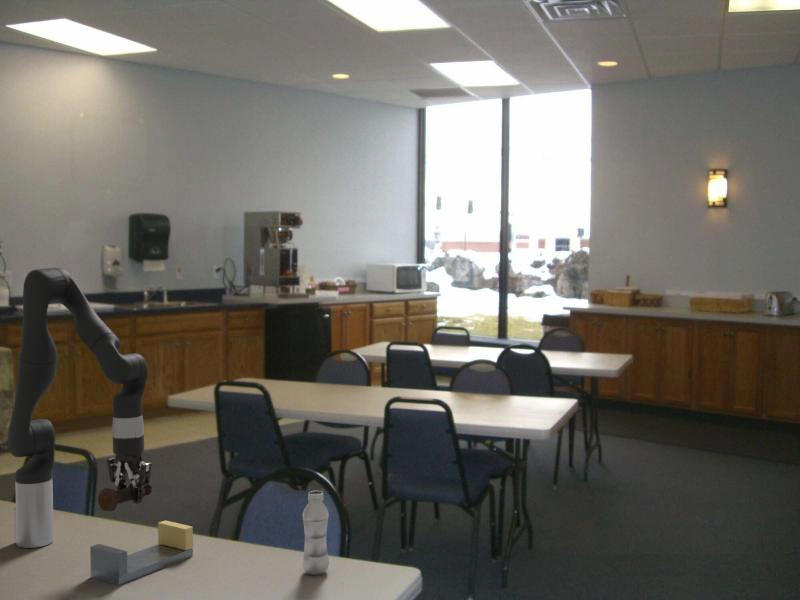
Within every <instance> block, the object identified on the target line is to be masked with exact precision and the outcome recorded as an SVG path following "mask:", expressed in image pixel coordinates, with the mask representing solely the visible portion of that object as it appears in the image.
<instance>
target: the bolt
mask: <svg viewBox="0 0 800 600" xmlns="http://www.w3.org/2000/svg"><path fill="white" fill-rule="evenodd" d="M133 489H134V488H133V484H132V482H131V483H129V485H128V487H126V488H124V489H121V490H117V489H112V488H103V489H101V490H100V492H99V493H98V496H97V503H98V506H99V508H100V509H101V510H102V511H105V512H113V511H115V510H116V508H117V506H118V504H123V503H124V502H125V503H126V502H128V501H132V502H133ZM152 490H153V487H152V485H150V484H149V485H147V486H144V487H143V488H142V492H143V494H142V495H143V498H144V497H145V496H149V495H151V493H152Z"/></svg>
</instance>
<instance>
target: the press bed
mask: <svg viewBox="0 0 800 600" xmlns="http://www.w3.org/2000/svg"><path fill="white" fill-rule="evenodd" d="M89 549H90V553H89V554H90V578H92V579H96V580H98V581H103V582H105V583H106V582H107V583H109V584H113V585H116V586H122V585H125V584H126V583H129V582H131V581H134V580H137V579H139V578H142V577H145V576H146V575H149V574H152V573H154V572H157V571H159V570H162V569H164V568H167V567H169V566H171V565H174V564H177V563H179V562H182V561H184V560H186V558H187V559H189V558H191V556H192V557H193V556H194V552H193V551H194V547H193V548H191V549H188V550H182V549H178V548H174V547H170V546H166V545H162V544H159V543H157V544H155V545H153V546H150V547H147V548H144V549H141V550H138V551H136V552H133V553H131V554H128V550H123V549H120V548H117V547H116V548H115V547H113V546H109V545H105V544H101V543H97V544H94V545H91V546H90V547H89Z"/></svg>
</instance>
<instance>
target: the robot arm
mask: <svg viewBox="0 0 800 600" xmlns="http://www.w3.org/2000/svg"><path fill="white" fill-rule="evenodd" d="M22 289H23V291H22V331H21V343H20V349H19V350H20V352H19V357H18V366H17V367H18V368H17V379H16V389H15V397H14V401H13V408H12V412H11V418H10V422H9V425H8V426H9V427H8V432H7V447H8V451H9V453H10V454H11V455H12V456H13V457H15V458H25V457H30V456H32V458H30V460H28V462H27V463H26V464H24V465H22V466H20V467H19V468H17V469H16V471H15V475H14V476H15V480H14V481H15V482H14V483H15V484H14V485H15V507H14V508H13V521H14V522H13V525H14V526H13V527H14V528H13V529H14V533H13V534H14V535H13V536H14V543H15V544H16V547H18V548H23V549H24V548H25V549H29V548H30V549H35V548H42V547H45V546H47V545H50V544H52V543H53V542H54V491H53V490H54V489H53V488H54V487H53V485H54V484H53V483H54V482H53V480H54V479H53V474H54V473H53V472H54V469H55V455H56V454H55V450H56V449H55V448H56V433H55V428H54V425H53V423H52V422H51V421H50V420H49V419H46V418H41V419H33V420H32V418H33V413H34V411H35V408H36V407H37V405H38V403H39V402H40V400H41V399H42V397H43V396H44V394H45V393H46V392H47V391H48V389H49V388H50V386H51V385H52V383H53V382H54V379H55V377H56V373H57V367H58V366H57V365H58V349H57V346H56V343H55V342H54V339H53V337H52V335H51V333H50V331H49V329H48V324H47V323H48V320H47V318H48V308H49V305H51V304H58V303H59V304H61V305H62V306H63V307H65V309H67V310H68V311H69V312H70V313H71V314H72V316H73V320H74V324H75V329H76V333H77V335H78V337H79V339H80V340H81V342H82V343H83V344H84V345H85V347H86V348H87V349H88V350H89V351H91V353H92V354H93V355H94V357H95V358H96V360H97V362H98V364H99V366H100V369H101V370H102V372H103V374H104V375H105V377H106V378H107V379H108V381H110V382H112V383H114V384H116V385H122V388H121V389H120V391H119V392H117V393H116V394H114V395H113V397H112V414H113V415H112V423H111V425H112V426H111V427H112V433H111V435H112V453H113V454H114V455H115V456H114V457H111V458H107V459H106V463H107V469H108V475H109V480H110V483H114V484H115V486H116V491H117V490H121V489H124V488H127V484H126V483H127V479H129V481H131V483H132V484H133V488H134V489H133V501H132V504H136V505H137V504H140V503H142V502H143V499H144V497H143V495H142V494H143V492H142V488H143V487H144V486H147V485H150V479H151V471H152V462H145V461H144V460H143V456H142V454H143V453H144V451H145V425H144V418H143V396H144V392H145V389H146V383H147V380H148V379H147V378H148V373H149V372H148V363H147V362H146V358H144V357H143V356H142V355H141V354H140V353H135V352H134V353H127V354H121V353H120V352H119V350H120V349H121V346H122V345H121V344H122V343H121V341H120V339H119V337H118V336H117V335H116V334H115V333H114V332H113V331H112V330H111V329H110V328H109V326H108V325H107V324H105V322H104V321H103V320H102V319H101V318H100V317H99V315H98V314H97V312H96V311H95V310H94V308H93V307H92V305H91V304H90V302H89V300H88V299H87V298H86V296H85V294H84V293H83V292H82V289H81V288H80V287H79V285H78V284H77V282H76V280H75V279H74V278H73V276H72V275H71V274H70V273H69V272H68V270H66V269H64V268H61V267H49V268H47V267H46V268H38V269H33V270H30V271H29V272H28V273H27V275H26V276H25V279H24V281H23V288H22ZM137 481H138V482H137Z"/></svg>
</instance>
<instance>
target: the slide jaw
mask: <svg viewBox="0 0 800 600" xmlns="http://www.w3.org/2000/svg"><path fill="white" fill-rule="evenodd" d="M193 530H194V527H193V526H190V525H188V524H183V523H179V522H174V521H170V520H163V521H159V522H158V523H157V544H162V545H166V546H170V547H174V548H178V549H182V550H188V549H191V548H193V549H194V536H193V534H194V531H193Z"/></svg>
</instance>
